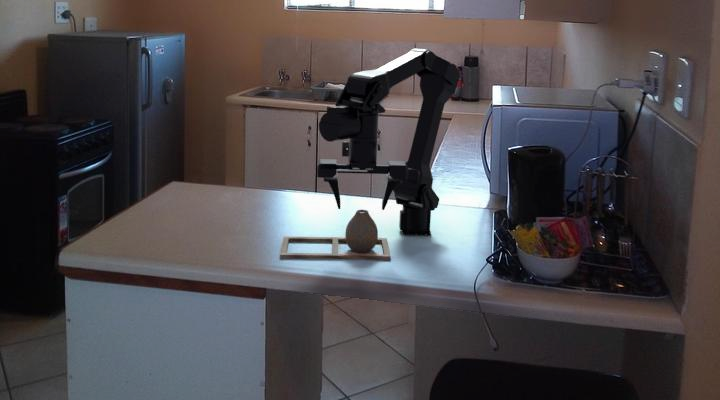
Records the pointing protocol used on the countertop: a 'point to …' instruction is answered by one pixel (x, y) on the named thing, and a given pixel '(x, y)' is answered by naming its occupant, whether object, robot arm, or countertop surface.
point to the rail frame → (335, 249)
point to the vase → (361, 232)
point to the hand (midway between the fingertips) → (361, 209)
